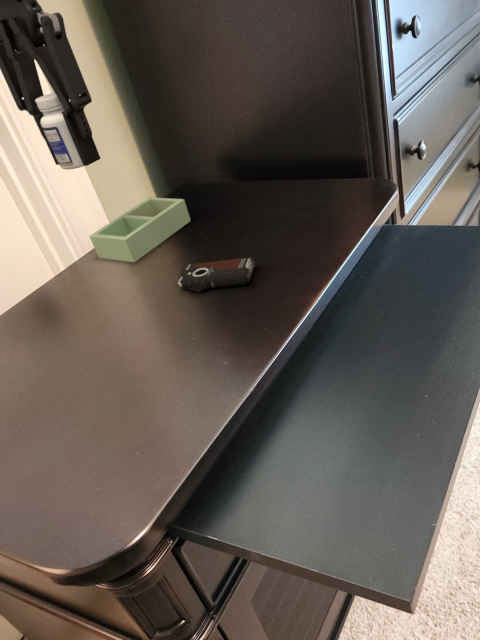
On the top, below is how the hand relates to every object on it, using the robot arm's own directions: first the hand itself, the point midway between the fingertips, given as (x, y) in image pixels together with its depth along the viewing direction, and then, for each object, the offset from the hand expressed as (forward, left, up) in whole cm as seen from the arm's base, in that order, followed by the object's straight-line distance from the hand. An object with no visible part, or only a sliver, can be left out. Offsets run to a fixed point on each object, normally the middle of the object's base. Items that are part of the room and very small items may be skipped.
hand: (78, 161), depth 76 cm
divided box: (-3, +9, -17) cm, 19 cm away
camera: (+20, -1, -17) cm, 27 cm away
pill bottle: (0, 0, 0) cm, 0 cm away
